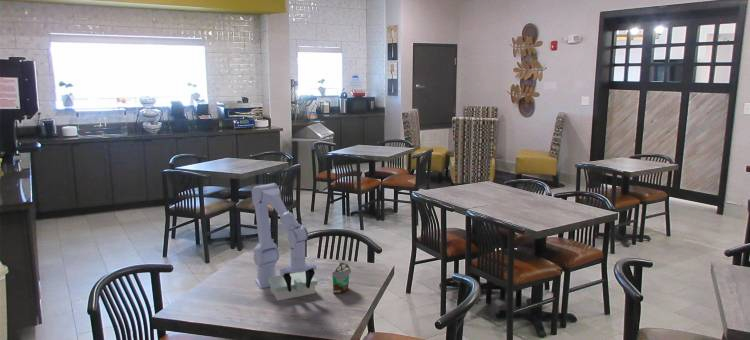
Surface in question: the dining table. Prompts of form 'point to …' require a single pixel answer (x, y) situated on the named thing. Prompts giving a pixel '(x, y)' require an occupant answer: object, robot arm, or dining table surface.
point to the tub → (292, 293)
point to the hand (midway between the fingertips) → (298, 289)
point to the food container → (341, 278)
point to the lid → (296, 282)
